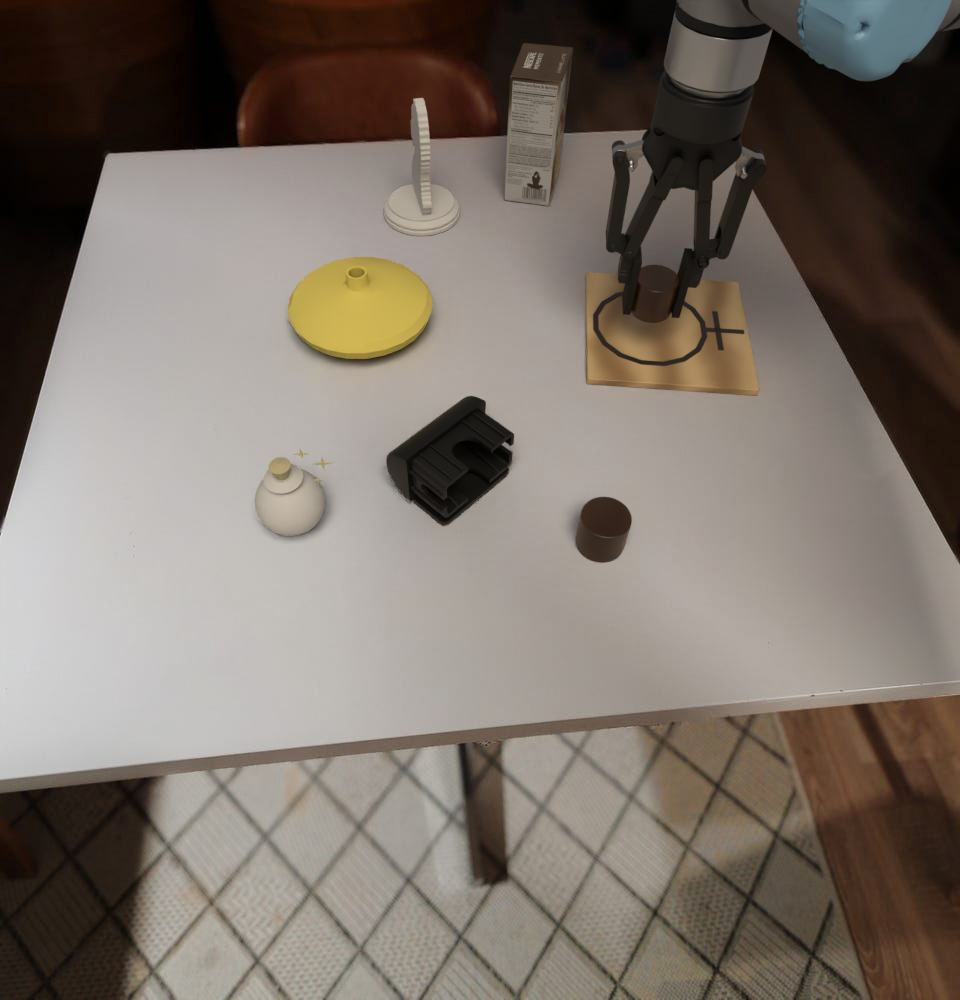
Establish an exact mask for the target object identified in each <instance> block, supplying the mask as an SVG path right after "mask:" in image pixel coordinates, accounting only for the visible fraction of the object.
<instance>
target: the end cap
mask: <svg viewBox="0 0 960 1000" xmlns="http://www.w3.org/2000/svg"><path fill="white" fill-rule="evenodd" d="M486 408H487V402H486V400H484V399H483V398H480V397H479V396H474V395H466V396H465V397H463V398H462V399H460V400H459V401H458V402H457V403H455V404H453V405H452V406H451V407H449V408H448V409H447V410H446V411H445V410H444V412H442V413H441V414H440V415H439V416H437V417H436V418H435V419H433V420H432V421H431V422H429V423H428V424H426V425H425V426H424V427H422V428H421V429H420V430H418V431H417V432H416V433H415V434H413V435H411V436H410V437H409V438H407V439H405V440H404V441H403V442H402V443H400V445H398V446H397V447H395V448H394V449H393V450H391V451H390V452H389V453H388V454H387V455H386V460H385V463H386V468H387V472H388V475H389V476H390V478H391V480H392V482H393V483H394V485H395V487H397V489H398V490H399V491H400V493H401V494H402V495H403V496H404V497H405V498H406V499H407V500H408V501H409V502H412V503H414V504H415V505H416V506H417V507H418V508H419V509H420V510H422V511H423V512H424V513H426V514H427V515H428V516H429V517H431V519H434V521H436V522H437V523H438V524H439V525H441V526H448V525H450V524H451V523H452V522H453V521H454V520H456V519H457V518H458V517H460V516H461V515H462V514H463V513H464V512H465V511H466V510H468V509H469V508H470V507H471V506H473V505H474V504H475V503H476V502H478V501H479V500H480V499H481V498H482V497H483V496H485V495H486V494H487V493H488V492H490V491H491V490H492V489H493V488H494V487H495V486H497V485H498V484H499V483H500V482H501V481H503V480H504V479H506V478H507V476H508V475H509V473H510V469H509V468H510V467H511V464H512V463H513V454H514V453H513V452H512V451H511V450H510V449H508V448H507V447H506V446H505V445H503V444H504V443H506V444H507V445H509V446H510V447H512V446H513V445H514V441H515V433H514V432H513V431H511V430H510V429H508V428H507V427H506V426H504V425H503V424H502V423H500V422H498V421H497V420H495V419H494V418H493V417H492V416H490V415H488V414H487V412H486Z"/></svg>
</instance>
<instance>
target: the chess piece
mask: <svg viewBox="0 0 960 1000" xmlns="http://www.w3.org/2000/svg"><path fill="white" fill-rule="evenodd" d="M412 102H413V103H412V104H411V106H410V107H411V108H410V110H411V112H410V113H411V114H410V115H411V119H409V122H410V136H411V139H412V140H411V141H412V146H413V147H414V149H413V150H414V151H413V155H412V161H411V181H412V183H409V184H405V185H402V186H400V187H398V188H396V189H395V190H394V191H393V192H392V193H391V194H390V195H389V196H388V197H387V198H386V200H385V202H384V206H383V218H384V220H385V222H386V224H387V225H388V226H389V227H391V228H392V229H393V230H394V231H397V232H399V233H401V234H404V235H408V236H415V237H428V236H429V237H430V236H434V235H438V234H441V233H444V232H446V231H448V230H450V229H452V227H454V226H455V225H456V224H457V223H458V221H459V219H460V216H461V208H460V204H459V201H458V199H457V198H456V197H455V196H454V195H453V194H452V193H451V191H449V190H448V189H447V188H445V187H443V186H441V185H438V184H435V183H431V160H432V159H431V140H430V139H431V138H430V125H429V118H428V117H429V116H428V110H427V106H426V101H425V99H424V97H418V98H417V97H416V98H413V99H412Z"/></svg>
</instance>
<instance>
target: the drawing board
mask: <svg viewBox="0 0 960 1000" xmlns="http://www.w3.org/2000/svg"><path fill="white" fill-rule="evenodd" d="M584 279H585V280H584V281H585V284H584V285H585V352H586V353H585V356H586V357H585V358H586V359H585V360H586V363H585V364H586V384H587V385H593V386H594V385H597V386H610V387H624V388H625V387H626V388H640V389H641V388H642V389H656V390H668V391H669V390H670V391H671V390H672V391H685V392H686V391H687V392H698V393H699V392H700V393H712V394H713V393H715V394H729V395H741V396H742V395H744V396H758V395H759V393H760V390H761V389H760V386H759V380H758V374H757V369H756V365H755V360H754V355H753V350H752V346H751V345H752V344H751V340H750V335H749V330H748V325H747V320H746V315H745V309H744V304H743V300H742V294H741V290H740V285H739V281H733V280H732V281H730V280H729V281H728V280H717V279H716V280H714V279H701V280H700V284H699V285H698V286H697V287H696V288H689V287H688V290H687V294H686V297H685V300H684V304H683V307H682V311H681V314H680V317H679V318H672V313H671V314H670V316H669V317H668V318H667V319H666V320H664V321H662V322H659V323H648V322H643V321H641V320H639V319H637V318H635V317H634V316H633V315H632V314H631V313H630V315H625V314H623V307H622V295H623V290H624V286H625V284H624V283H619V281H618V273H603V272H589V271H588V272H585V278H584Z"/></svg>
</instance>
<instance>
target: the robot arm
mask: <svg viewBox="0 0 960 1000" xmlns="http://www.w3.org/2000/svg"><path fill="white" fill-rule="evenodd" d="M672 19H673V20H672V23H671V27H670V32H669V36H668V41H667V45H666V51H665V54H664V55H665V56H664V59H663V67H664V71H663V72H662V73H661V74H660V79H659V82H658V83H659V84H658V89H657V94H656V99H655V104H654V108H653V111H652V112H653V113H652V118H651V122H650V124H649V126H648V128H647V129H646V130H645V132H644V133H643V135H642V137H641V139H639V140H636V141H632V142H630V143H625V141H623V140H621V139H619V140H615V141H614V142H613V143H612V145H611V155H612V156H611V158H612V167H613V171H614V175H613V181H612V187H611V188H612V189H611V194H610V201H609V208H608V213H607V221H606V227H605V249H606V252H608V253H611V254H613V253H618V254H619V260H618V265H617V269H616V270H617V271H616V272H617V273H616V274H618V281H619V283H624V284H625V286H624V290H623V295H622V307H623V314H625V315H630V313H631V309H632V305H633V300H634V296H635V292H636V287H637V283H638V279H639V274H640V270H641V268H642V267H643V253H642V245H643V243H644V240H645V238H646V236H647V234H648V232H649V230H650V229H651V227H652V224H653V223H654V220H655V218H656V216H657V214H658V212H659V210H660V208H661V206H662V205H663V202H664V201H666V199H667V198H668V196H669V194H670V192H671V190H675V189H683V188H684V189H687V190H690V191H694V206H693V209H694V210H693V216H694V217H693V248H691V247H684V248H683V252H682V253H683V254H682V255H681V260H680V263H679V266H678V271H677V273H676V274H677V275H678V277H679V286H678V290H677V293H676V297H675V300H674V304H673V307H672V311H671V313H672V318H679V317H680V314H681V311H682V307H683V304H684V300H685V297H686V294H687V290H688V287H689V288H696V287H697V286H698V285H699V284H700V280H702V277H703V273H704V270H705V269H707V268H708V267H709V266H710V260H712V259H716V258H717V259H718V260H725V259H727V258H728V257H729V256H730V253H731V251H732V248H733V245H734V243H735V239H736V236H737V234H738V231H739V228H740V226H741V222H742V220H743V217H744V214H745V211H746V209H747V206H748V204H749V201H750V197H751V195H752V192H753V190H754V188H755V187H756V185H757V184H758V183H759V182H760V180H761V179H762V177H764V175H765V174H766V172H767V170H768V167H767V162H766V160H765V155H764V153H763V150H762V149H761V148H754V149H752V150H751V149H749V148H747V147H745V146H743V145H742V144H743V143H742V140H741V138H742V137H741V136H742V133H743V131H744V130H743V129H744V126H745V123H746V120H747V118H748V117H747V116H748V113H749V111H750V107H751V103H752V100H753V97H754V94H755V85H754V84H756V82H757V81H758V80H759V77H760V73H761V71H762V67H763V64H764V61H765V57H766V54H767V50H768V46H769V43H770V40H771V37H772V33H773V30H774V31H775V32H777V33H778V34H779V35H781V36H782V37H783V38H785V39H786V40H787V41H789V42H790V43H792V44H793V45H795V46H796V47H798V48H799V49H800V50H802V51H803V52H805V53H806V54H807V55H808V57H809V58H810V59H812V60H814V61H815V62H816V63H817V64H819V65H824V67H826V68H827V69H831V70H836V71H838V72H839V73H841V74H843V75H845V76H847V77H848V78H850V79H852V80H855V81H859V82H873V81H879V80H881V79H885V78H887V77H889V76H891V75H893V74H894V73H895V72H896V71H897V70H898V68H899V67H900V66H901V65H902V64H904V63H910V62H911V61H913V59H915V58H916V57H917V56H918V55H919V54H920V53H921V52H922V51H923V49H925V47H926V46H927V45H928V44H929V42H930V41H931V40H932V39H933V37H934V36H935V35H936V34H938V33H941V32H945V31H952V30H957V29H960V0H676V4H675V9H674V14H673V18H672ZM642 157H644V158H645V160H646V162H647V164H648V166H649V168H650V169H651V174H650V177H649V182H648V183H647V186H646V188H645V190H644V192H643V194H642V197H641V199H640V201H639V203H638V205H637V207H636V209H635V212H634V213H633V216H632V218H631V221H630V222H629V224H628V227H627V229H626V231H625V233H622V231H623V226H624V221H625V214H626V208H627V202H628V197H629V191H630V185H631V173H633V172H634V171H635V170H636V169H637V167H638V165H639V160H640V159H641V158H642ZM733 164H735V165H734V170H735V173H734V177H733V179H732V183H731V186H730V189H729V192H728V195H727V198H726V201H725V203H724V207H723V209H722V213H721V216H720V219H719V222H718V225H717V228H716V230H715V234H714V237H713V238H711V237H710V236H711V213H712V202H713V201H712V200H713V188H714V187H713V186H714V185H713V183H714V181H715V180H716V179H718V178H719V177H720V176H721V175H722V174H724V172H726V171H727V170H728V169H729V168H730V167H731V166H732V165H733Z"/></svg>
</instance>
